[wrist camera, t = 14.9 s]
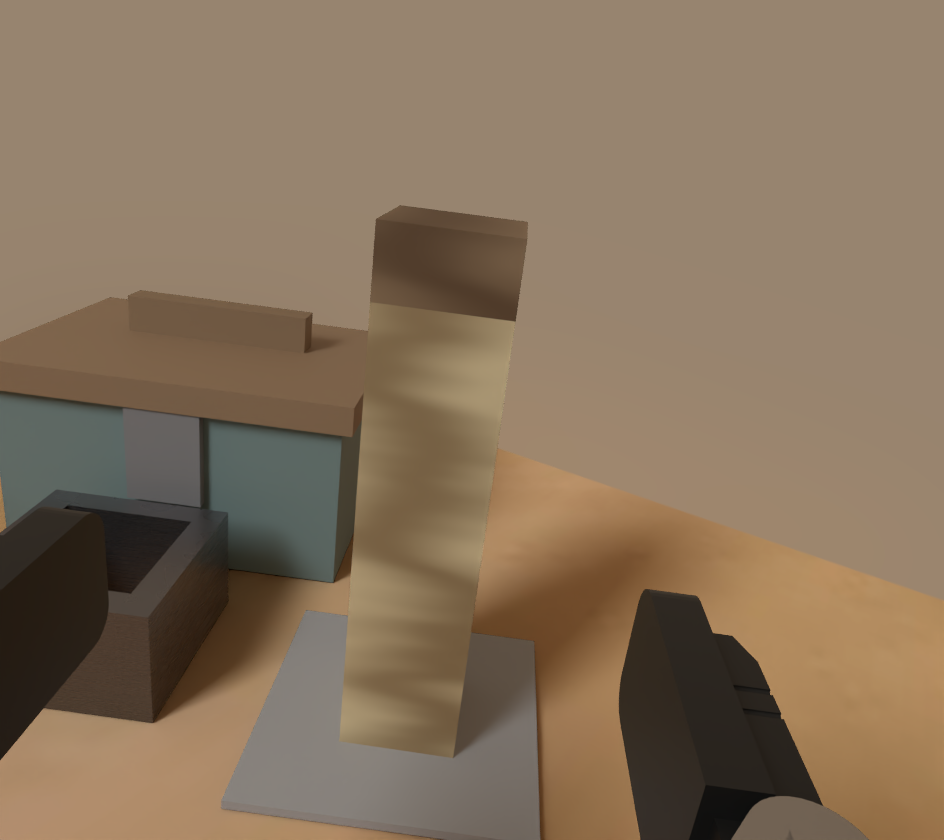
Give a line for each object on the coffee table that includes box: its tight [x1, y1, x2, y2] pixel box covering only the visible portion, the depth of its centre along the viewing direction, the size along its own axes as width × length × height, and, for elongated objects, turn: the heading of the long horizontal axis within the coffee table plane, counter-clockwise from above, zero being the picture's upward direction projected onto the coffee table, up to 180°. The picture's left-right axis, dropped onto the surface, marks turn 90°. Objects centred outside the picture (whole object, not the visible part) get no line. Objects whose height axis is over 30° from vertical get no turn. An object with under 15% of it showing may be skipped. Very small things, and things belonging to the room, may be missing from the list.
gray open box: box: [0, 489, 228, 723], centre depth 26 cm, size 7×7×4 cm
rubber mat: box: [221, 610, 540, 840], centre depth 25 cm, size 9×9×1 cm
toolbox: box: [0, 290, 368, 583], centre depth 35 cm, size 15×11×10 cm
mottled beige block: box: [339, 205, 528, 758], centre depth 22 cm, size 4×4×16 cm
